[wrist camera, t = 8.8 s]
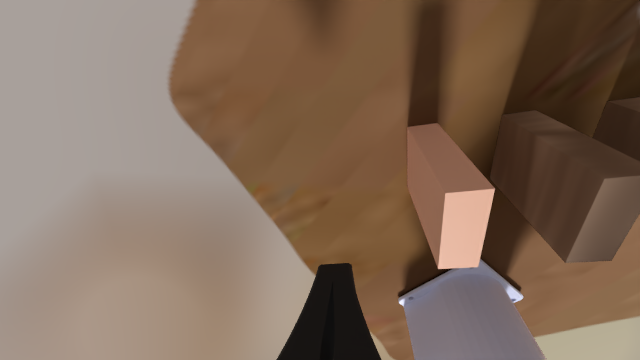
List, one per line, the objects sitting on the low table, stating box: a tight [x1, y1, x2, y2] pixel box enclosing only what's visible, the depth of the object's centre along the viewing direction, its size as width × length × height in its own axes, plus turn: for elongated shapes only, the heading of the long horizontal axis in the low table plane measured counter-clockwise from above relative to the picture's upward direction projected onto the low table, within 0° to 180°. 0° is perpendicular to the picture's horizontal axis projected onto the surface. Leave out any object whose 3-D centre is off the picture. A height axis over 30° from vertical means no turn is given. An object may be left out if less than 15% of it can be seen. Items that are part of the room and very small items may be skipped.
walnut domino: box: [490, 110, 640, 263], centre depth 15 cm, size 2×5×8 cm, turn 10°
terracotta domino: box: [407, 123, 495, 269], centre depth 16 cm, size 2×5×8 cm, turn 10°
